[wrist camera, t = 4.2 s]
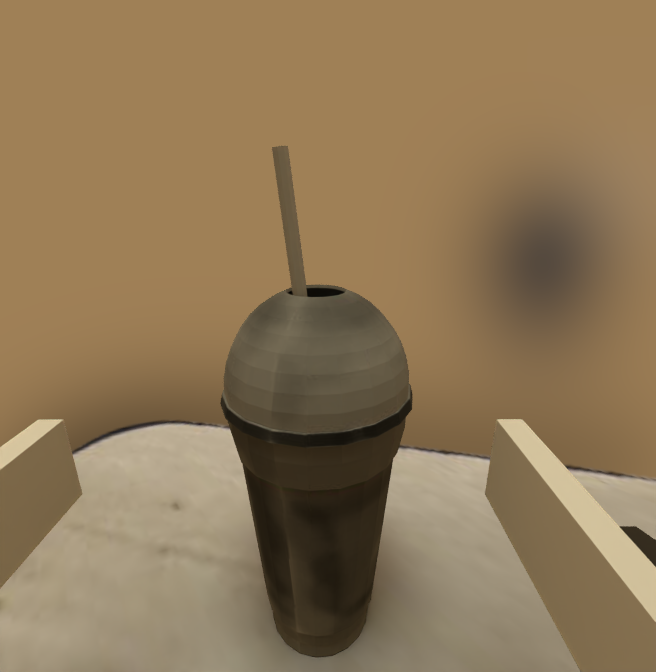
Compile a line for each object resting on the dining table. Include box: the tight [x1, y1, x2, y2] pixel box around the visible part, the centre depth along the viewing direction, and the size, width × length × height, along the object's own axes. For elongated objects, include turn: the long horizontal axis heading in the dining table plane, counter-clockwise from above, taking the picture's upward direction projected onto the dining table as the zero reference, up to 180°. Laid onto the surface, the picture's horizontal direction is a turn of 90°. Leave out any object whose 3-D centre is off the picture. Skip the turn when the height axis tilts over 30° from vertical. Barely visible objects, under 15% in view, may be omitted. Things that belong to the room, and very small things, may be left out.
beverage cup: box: [221, 146, 412, 657], centre depth 15 cm, size 7×7×20 cm
